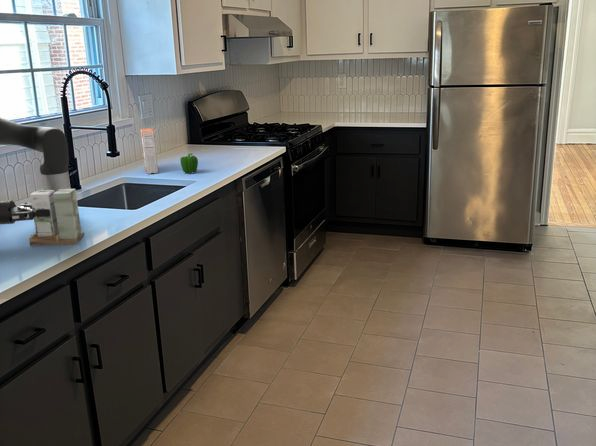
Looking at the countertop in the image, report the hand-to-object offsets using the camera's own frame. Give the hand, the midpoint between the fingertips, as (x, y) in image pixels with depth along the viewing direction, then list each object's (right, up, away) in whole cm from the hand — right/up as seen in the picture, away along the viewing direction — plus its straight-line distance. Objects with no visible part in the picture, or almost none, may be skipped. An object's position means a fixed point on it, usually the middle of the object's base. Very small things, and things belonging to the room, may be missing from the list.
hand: (52, 209), depth 186 cm
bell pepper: (+25, +20, +100) cm, 106 cm away
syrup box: (-2, -8, +2) cm, 9 cm away
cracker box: (+5, +21, +106) cm, 108 cm away
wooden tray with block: (0, -10, +3) cm, 10 cm away
